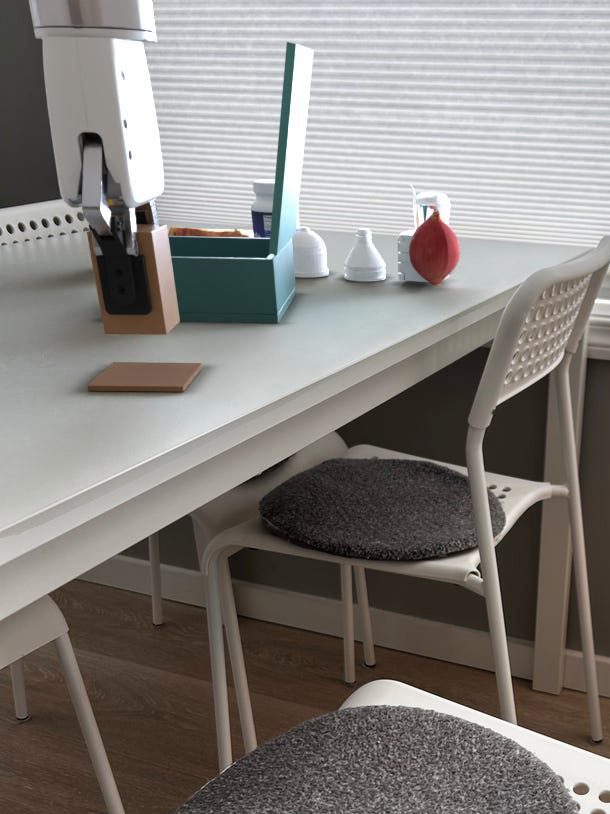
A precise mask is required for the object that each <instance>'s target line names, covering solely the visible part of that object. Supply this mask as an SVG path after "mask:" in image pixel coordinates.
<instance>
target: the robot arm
mask: <svg viewBox="0 0 610 814" xmlns="http://www.w3.org/2000/svg"><path fill="white" fill-rule="evenodd" d="M28 4H29V11H30V16H31V20H32V26H33V32H34V36H35V39H37V40H39V39H40V40H42V64H43V75H44V78H43V79H44V86H45V87H44V88H45V95H46V104H47V113H48V119H49V126H50V135H51V141H52V149H53V154H54V162H55V170H56V175H57V176H56V177H57V182H58V187H59V195H60V198H61V199H62V200H63V202H64V203H65V204H66V205H67V206H69V207H70V208H74V209H75V208H76V209H77V208H81V210H82V214H83V217H84V218H85V220H86V221H87V223H88V229H89V231H92V240H93V248H94V252H95V255H96V260H97V265H98V271H99V277H100V283H101V288H102V294H103V300H104V305H105V310H106V312H107V313H108V314H111V315H148V314H149V313H151V311H152V304H151V297H150V290H149V284H148V277H147V270H146V264H145V257H144V255H138V240H137V229H136V224H160V222H159V216H158V212H157V211H158V208H157V206H156V200H157V199H158V198H159V197H160V196H161V195H162V194H163V193H164V190H165V174H164V163H163V162H164V161H163V155H162V146H161V139H160V133H159V125H158V119H157V114H156V108H155V107H156V106H155V102H154V95H153V90H152V85H151V84H152V83H151V75H150V73H149V68H148V64H147V63H148V62H147V57H146V52H145V48H144V44H151V43H152V44H153V43H157V42H158V41H157V33H156V26H155V19H154V17H155V16H154V10H153V2H152V0H28ZM107 199H112V202H113V205H108V200H107ZM122 224H124V230H123V227H122Z"/></svg>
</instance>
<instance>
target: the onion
mask: <svg viewBox="0 0 610 814" xmlns="http://www.w3.org/2000/svg"><path fill="white" fill-rule="evenodd" d="M460 256H461V246H460V242H459V239H458V237H457V235H456V233H455V232H454V231H453V229H452V228H451V227H450V226H449V224H448V225H447V224H446V223H444V222H443V221H442V220H441V217H440V213H439V211H434V212H433V214H432V215H431V216H430V217H429V218H428V219H427V220H426V221H425V222H423V223H422V224H421V225H420V226H419V227H418V228H417V230H416V231H415V232H414V234H413V236H412V239H411V242H410V246H409V257H410V262H411V264H412V266H413V267H414V269H415V270H416V271H417V272H418V274H419V275H421V276H422V277H423V278H424V279H425V280H427V281H428V282H427V283H429V284H430V285H431V286H434V287H437V286H440V285H441V284H442V283H443V282H444V280H446V279H447V278H448V277H447V276H448V275H449V276H450V275H451V273H452V272H453V271H454V270H455V269H456V267H457V266H458V263H459V261H460ZM446 277H447V278H446ZM445 278H446V279H445Z"/></svg>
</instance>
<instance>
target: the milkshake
mask: <svg viewBox="0 0 610 814" xmlns="http://www.w3.org/2000/svg"><path fill="white" fill-rule="evenodd" d="M409 186H410V190H411V192H412V195H413V199H412V208H413V217H414V218H413V219H414V228H415V229H414V230H417V228H418V227H419V226H420V225H421V224H422V223H423V222H425V221H426V220H427V219H428V218H429V217H430V216H431V215H432V214H433V212H434V211H439V213H440V217H441V220H442V221H443V222H444V223H446V224H447V225H448V226H449V218H450V209H451V201H450V198H448V195H446V194H445V193H442V192H433V191H427V192H426V191H422V192H420V193H418V194H417V195H416V191H415V189H414V186H413V185H412V184H410V185H409Z"/></svg>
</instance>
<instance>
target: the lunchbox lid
mask: <svg viewBox="0 0 610 814" xmlns="http://www.w3.org/2000/svg"><path fill="white" fill-rule="evenodd" d="M284 60H285V61H284V68H283V69H284V70H283V80H282V93H281V103H280V104H281V105H280V115H279V116H280V117H279V126H278V127H279V128H278V139H277V140H278V141H277V152H276V163H275V176H274V179H275V185H274V197H273V209H272V220H271V232H270V244H269V254H274V255H277V254H278V253H279V252H280V251H281V250H282V249H283V248H284V247H285V245H286V244H287V243H288V242H289V241H290V240H291V239H292V238H293V236H294V235H295V234H296V225H297V214H298V209H299V204H300V192H301V182H302V173H303V163H304V153H305V141H306V133H307V123H308V122H307V121H308V113H309V112H308V111H309V101H310V91H311V82H312V81H311V80H312V70H313V60H314V49H312V48H309V47H306V46H304V45H301V44H298V43H293V42H289V41H287V42H286V47H285V58H284Z"/></svg>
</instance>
